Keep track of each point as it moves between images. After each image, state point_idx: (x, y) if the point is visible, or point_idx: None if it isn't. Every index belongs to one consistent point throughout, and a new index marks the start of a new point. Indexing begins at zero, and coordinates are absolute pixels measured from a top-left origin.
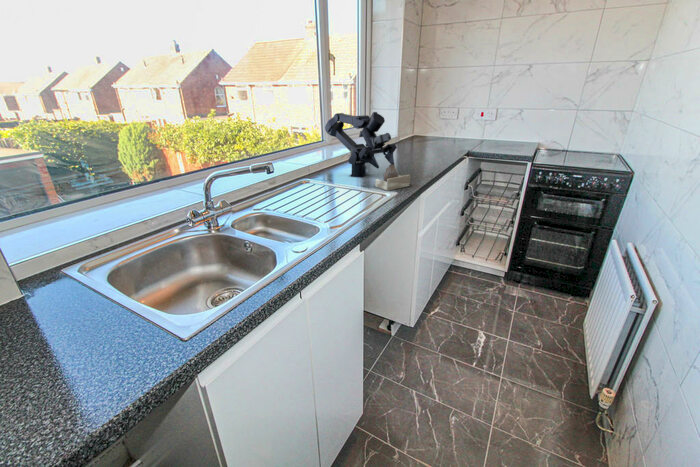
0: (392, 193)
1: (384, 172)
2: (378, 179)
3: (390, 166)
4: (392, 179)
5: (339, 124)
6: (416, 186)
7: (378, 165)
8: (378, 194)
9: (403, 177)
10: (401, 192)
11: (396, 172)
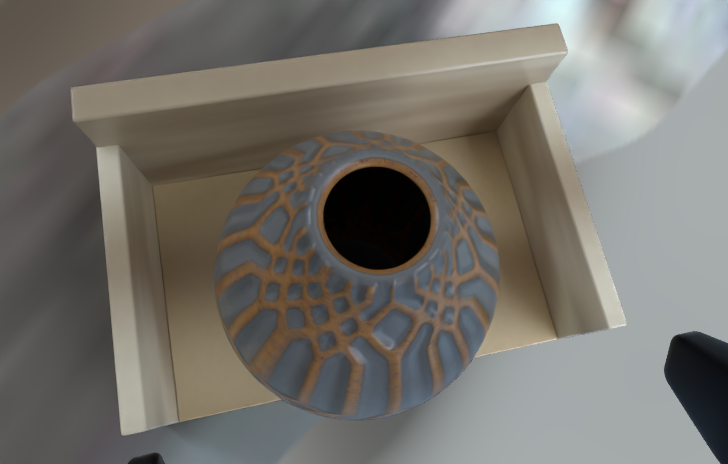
0: (499, 17)
1: (493, 313)
2: (596, 271)
3: (436, 180)
4: (479, 39)
5: None
6: None
7: (714, 358)
8: (648, 53)
9: (247, 74)
10: (393, 2)
11: (322, 135)
